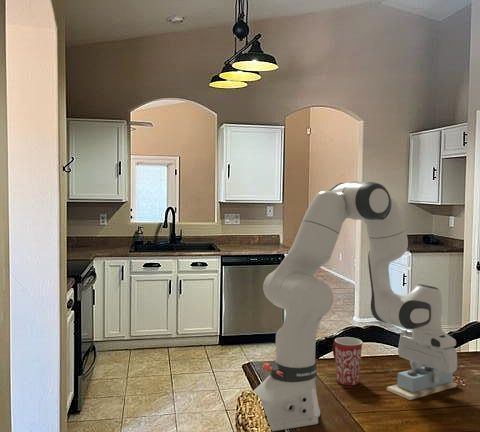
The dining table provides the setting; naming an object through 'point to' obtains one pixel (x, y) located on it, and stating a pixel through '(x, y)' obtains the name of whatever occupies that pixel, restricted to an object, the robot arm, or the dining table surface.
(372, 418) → the dining table surface
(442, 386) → the boss board
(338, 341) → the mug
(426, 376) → the two-hole block
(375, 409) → the dining table surface
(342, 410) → the dining table surface
